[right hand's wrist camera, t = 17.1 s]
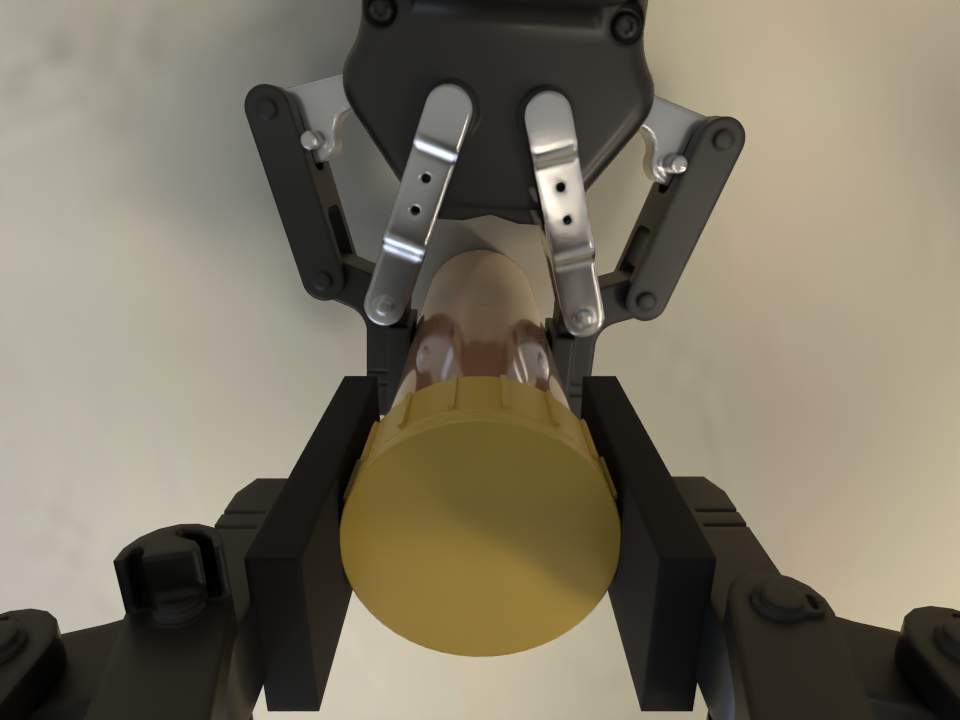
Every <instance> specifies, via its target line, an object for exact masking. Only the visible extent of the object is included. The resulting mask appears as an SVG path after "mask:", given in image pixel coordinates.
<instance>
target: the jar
mask: <svg viewBox="0 0 960 720" xmlns="http://www.w3.org/2000/svg"><path fill="white" fill-rule="evenodd" d="M501 374H502V375H506V376H507V379H510V380H514V381H519V382H522V383H525V384H527V385H530V386H533V387H535V388H537V389H539V390H541V391H543V392H546V391H547V390H549V391H551V392H552V394H553V397H554V398H555V399H556V400H558V401H559V402H561V403H562V404H563V405H565V406H566V407H567V408H568V409H569V410H570V411H571V409H570V406H569V403H568V400H567V397H566V394H565V391H564V387H563V384H562V381H561V378H560V375H559V372H558V369H557V366H556V363H555V360H554V357H553V354H552V351H551V348H550V345H549V342H548V339H547V335H546V332H545V329H544V326H543V323H542V320H541V317H540V314H539V311H538V308H537V305H536V302H535V299H534V296H533V293H532V290H531V286H530V283H529V281H528V279H527V277H526V275H525V274H524V272H523V271H522V270H521V268H520V267H519V266H518V265H517V264H516V263H515V262H514V261H512V260H511V259H509V258H508V257H506V256H504V255H502V254H500V253H497V252H493V251H489V250H472V251H467V252H464V253H460V254H458V255H456V256H454V257H453V258H451V259H449V260H448V261H447V262H446V263H444V264H443V265H442V266H441V268H440V269H439V270H438V271H437V273H436V274H435V276H434V278H433V280H432V282H431V285H430V288H429V291H428V294H427V297H426V300H425V303H424V306H423V309H422V312H421V315H420V318H419V321H418V324H417V328H416V331H415V334H414V337H413V340H412V343H411V346H410V349H409V352H408V355H407V358H406V361H405V364H404V368H403V371H402V374H401V377H400V380H399V383H398V386H397V389H396V392H395V395H394V398H393V401H392V404H391V407H390V410H391V409H392V408H393V407H395V406H396V405H397V404H399V403H400V402H401V401H403V400H404V399H405V396H406V393H408V392H410V391H411V392H412V393H413V394H414V393H415V392H417V391H419V390H421V389H423V388H426V387H428V386H430V385H433V384H435V383H439V382H442V381H446V380H450V379H451V376H453V375H457V378H462V377H469V376H489V377H499V378H500V376H501ZM389 412H390V411H389Z"/></svg>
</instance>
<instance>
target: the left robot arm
mask: <svg viewBox="0 0 960 720" xmlns="http://www.w3.org/2000/svg"><path fill="white" fill-rule="evenodd" d="M647 5H648V0H362V16H361V24H360V28H359V32H358V35H357V38H356V41H355V43H354V45H353V47H352V49H351V51H350V53H349V55H348V57H347V59H346V61H345V64H344V69H343V74H340V75H337V76H333V77H329V78H325V79H321V80H317V81H313V82H309V83H306V84H302V85H298V86H294V87H290V88H282V87H277V86H273V85H268V84H261V85H257V86H255V87H254V88H252V89H251V90H250V91H249V93H248V94H247V96H246V99H245V113H246V116H247V119H248V122H249V125H250V128H251V131H252V134H253V137H254V140H255V143H256V146H257V149H258V152H259V155H260V158H261V161H262V164H263V167H264V169H265V172H266V175H267V178H268V181H269V184H270V187H271V190H272V193H273V196H274V199H275V202H276V205H277V208H278V211H279V214H280V217H281V220H282V223H283V226H284V229H285V232H286V235H287V238H288V241H289V244H290V247H291V250H292V253H293V256H294V259H295V262H296V265H297V268H298V271H299V274H300V277H301V280H302V283H303V285H304V288H305V290H306V291H307V292H308V293H309V295H311V296H312V297H314V298H315V299H318V300H322V301H327V300H331V299H332V300H335V301H337V302H339V303H342V304H344V305H347V306H349V307H351V308H353V309H355V310H356V311H357V312H358V313H360V315H361V316H362V317H363V319H364V321H365V323H366V327H367V376H377V379H378V395H379V412H380V415H385V416H386V415H387V414H388V413H389V411H390V407H391V404H392V401H393V398H394V395H395V392H396V389H397V386H398V383H399V380H400V377H401V374H402V371H403V368H404V364H405V361H406V358H407V355H408V352H409V349H410V346H411V343H412V340H413V337H414V334H415V331H416V328H417V311H418V310H416V309H411V295H412V292H413V289H414V286H415V283H416V281H417V278H418V275H419V272H420V269H421V266H422V263H423V260H424V258H425V255H426V252H427V249H428V246H429V244H430V241H431V238H432V235H433V233H434V230H435V227H436V224H437V221H438V219H452V220H466V219H471V218H476V217H481V216H485V215H494V216H497V217H500V218H503V219H506V220H509V221H512V222H515V223H518V224H531V225H538V226H539V231H540V236H541V240H542V245H543V248H544V252H545V256H546V261H547V265H548V270H549V275H550V280H551V285H552V290H553V295H554V299H555V303H554V312H553V318H546V321H545V332H546V335H547V339H548V342H549V345H550V348H551V351H552V354H553V357H554V360H555V363H556V366H557V369H558V372H559V375H560V378H561V381H562V384H563V387H564V391H565V394H566V397H567V400H568V403H569V406H570V409H571V412H572V413H573V414H574V415H575V416H576V417H577V418H578V420H579V421H580V417H581V401H582V385H583V376H591V373H592V365H593V357H594V350H595V343H596V340H597V338H598V336H599V334H600V333H601V332H602V331H603V330H604V329H605V328H606V327H608V326H609V325H611V324H614V323H617V322H621V321H625V320H628V319H632V318H635V319H637V320H641V321H649V320H652V319H655V318H656V317H658V316H659V315H660V314H661V313H662V312H663V311H664V309H665V307H666V305H667V303H668V301H669V299H670V297H671V295H672V293H673V291H674V289H675V287H676V285H677V283H678V280H679V278H680V276H681V274H682V272H683V270H684V268H685V266H686V264H687V262H688V260H689V258H690V256H691V254H692V252H693V250H694V248H695V245H696V243H697V241H698V239H699V237H700V235H701V233H702V231H703V229H704V227H705V225H706V223H707V221H708V219H709V217H710V215H711V213H712V210H713V208H714V206H715V204H716V202H717V200H718V198H719V196H720V194H721V192H722V190H723V188H724V186H725V184H726V182H727V180H728V177H729V175H730V173H731V171H732V169H733V167H734V165H735V163H736V161H737V159H738V157H739V155H740V153H741V151H742V149H743V146H744V143H745V131H744V128H743V126H742V125H741V123H740V122H739V121H738V120H736V119H734V118H732V117H721V116H708V117H706V116H703V115H701V114H699V113H696V112H694V111H691V110H689V109H686V108H684V107H682V106H679V105H677V104H674V103H672V102H669V101H667V100H665V99H662V98H660V97H657V96H655V95H654V84H653V80H652V77H651V74H650V72H649V69H648V66H647V63H646V59H645V54H644V45H643V36H644V26H645V19H646V12H647ZM352 112H354V113H355V114H356V116H357V117H358V119H359V120H360V122H361V123H362V125H363V126H364V128H365V129H366V131H367V132H368V134H369V135H370V137H371V139H372V140H373V142H374V143H375V145H376V146H377V148H378V149H379V151H380V152H381V154H382V155H383V157H384V158H385V160H386V161H387V163H388V164H389V166H390V168H391V169H392V171H393V172H394V174H395V175H396V177H397V178H398V180H399V181H400V183H401V184H400V187H399V190H398V193H397V196H396V199H395V202H394V205H393V208H392V212H391V215H390V218H389V221H388V224H387V227H386V230H385V233H384V237H383V241H382V247H381V251H380V254H379V257H378V260H377V263H376V264H375V263H373V262H371V261H368V260H366V259H363V258H361V257H359V256H357V255H356V251H355V248H354V245H353V241H352V238H351V235H350V232H349V228H348V225H347V222H346V218H345V215H344V212H343V208H342V205H341V202H340V198H339V195H338V192H337V188H336V185H335V182H334V178H333V175H332V172H331V168H330V165H329V162H328V161H330V160H332V159H334V158H336V157H337V156H338V155H339V154H340V152H341V150H342V147H343V136H342V127H343V123H344V121H345V119H346V118H347V116H348V115H349V114H350V113H352ZM637 131H638V132H639V133H640V134H641V135H642V136H643V138H644V141H645V145H646V151H645V156H644V159H643V169H644V172H645V174H646V176H647V177H648V178H649V179H650V180H652V181H654V183H653V185H652V188H651V190H650V192H649V194H648V197H647V199H646V201H645V203H644V206H643V208H642V210H641V212H640V214H639V217H638V219H637V221H636V223H635V226H634V228H633V230H632V232H631V235H630V237H629V239H628V241H627V244H626V246H625V248H624V250H623V253H622V255H621V257H620V259H619V261H618V264H617V266H616V268H615V270H614V272H611V273H608V274H604V275H601V276H597V272H596V266H595V247H594V241H593V236H592V230H591V224H590V219H589V213H588V208H587V202H586V196H585V192H586V191H587V190H588V189H589V188H590V186H591V185H592V184H593V183H594V182H595V181H596V179H597V178H598V177H599V176H600V175H601V174H602V172H603V171H604V170H605V169H606V168H607V167H608V165H609V164H610V163H611V162H612V161H613V160H614V158H615V157H616V156H617V155H618V154H619V153H620V151H621V150H622V149H623V148H624V147H625V146H626V144H627V143H628V142H629V141H630V140H631V138H632V137H633V136H634V135H635V134H636V133H637Z"/></svg>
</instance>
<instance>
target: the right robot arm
mask: <svg viewBox="0 0 960 720" xmlns="http://www.w3.org/2000/svg"><path fill="white" fill-rule="evenodd" d="M582 419H584V420H585V422H586V424H587V426H588V429H589V432H590V435H591V437H592V440H593V443H594V445H595V448H596V450H597V452H598V455H599V457H603V458H604V460H605V463H606V466H607V468H608V471H609V474H610V476H611V479H612V481H613V484H614V487H615V489H616V492H617V500H615V502H616V504H617V508H618V512H619V516H620V520H621V540H620V551H619V561H618V567H617V570H616V572H615V575H614V578H613V580H612V583H611V584H610V586H609V588H608V593H609V597H610V600H611V604H612V607H613V611H614V615H615V618H616V622H617V625H618V629H619V633H620V636H621V640H622V643H623V647H624V651H625V654H626V658H627V661H628V665H629V669H630V672H631V676H632V679H633V683H634V687H635V690H636V694H637V697H638V701H639V705H640V708H641V711H693V705H694V699H695V693H696V686H697V682H698V685H699V687H700V690H701V693H702V695H703V698H704V700H705V703H706V705H707V708H708V714H707V720H960V611H958V610H954V609H950V608H942V607H934V606H927V607H921V608H915V609H913V610H912V611H911V612H910V613H908V614H907V615H906V616H905V617H904V621H903V624H902V627H901V631H900V632H898V631H894V630H889V629H885V628H880V627H876V626H871V625H867V624H862V623H858V622H854V621H850V620H847V619H843V618H840V617H837V616H835V613H834V611H833V610H832V609H831V607H830V606H829V604H828V603H827V601H826V600H825V598H823V597H822V596H821V595H820V594H818V593H817V592H816V591H815V590H813V589H812V588H811V587H810V586H808V585H806V584H803V583H801V582H799V581H797V580H795V579H793V578H791V577H788V576H784V575H781V574H780V572H779V571H778V569H777V568H776V566H775V565H774V564H773V562H772V561H771V559H770V558H769V556H768V555H767V553H766V552H765V550H764V549H763V547H762V546H761V544H760V543H759V541H758V540H757V539H756V537H755V536H754V534H753V533H752V531H751V530H750V528H749V527H746V522H745V521H744V519H743V518H742V516H741V515H740V514H739V512H736V508H735V506H734V505H733V503H732V502H731V500H730V499H729V497H728V496H727V494H726V493H725V491H723V490H722V489H720V488H719V487H717V486H716V485H715V484H713V483H712V482H710V481H709V480H708V479H706V478H705V477H671V475H670V473H669V471H668V470H667V468H666V466H665V464H664V462H663V461H662V459H661V457H660V455H659V453H658V452H657V450H656V448H655V446H654V444H653V443H652V441H651V439H650V437H649V435H648V434H647V432H646V430H645V428H644V426H643V425H642V423H641V421H640V419H639V417H638V416H637V414H636V412H635V410H634V408H633V407H632V405H631V403H630V401H629V399H628V398H627V396H626V394H625V392H624V390H623V389H622V387H621V385H620V383H619V381H618V380H617V378H616V376H583V385H582V401H581V417H580V420H582ZM375 421H377V422H379V423H380V412H379V395H378V379H377V376H345V377H344V378H343V380H342V382H341V384H340V386H339V387H338V389H337V391H336V393H335V395H334V396H333V398H332V400H331V402H330V404H329V405H328V407H327V409H326V411H325V413H324V414H323V416H322V418H321V420H320V422H319V423H318V425H317V427H316V429H315V431H314V432H313V434H312V436H311V438H310V440H309V441H308V443H307V445H306V447H305V449H304V451H303V452H302V454H301V456H300V458H299V460H298V461H297V463H296V465H295V467H294V469H293V470H292V472H291V474H290V476H289V478H288V479H256V480H254V481H253V482H252V483H250V484H249V485H247V486H246V487H245V488H243V489H242V490H240V491H239V492H238V493H236V494H235V496H234V497H233V499H232V500H231V502H230V503H229V505H228V506H227V508H226V509H225V511H224V514H222V515H221V517H220V518H219V520H218V521H217V523H216V524H215V528H213V527H209V526H205V525H201V524H179V525H174V526H170V527H165V528H161V529H158V530H156V531H153V532H151V533H149V534H146V535H144V536H142V537H139V538H138V539H136V540H135V541H134V542H132V543H131V544H129V545H128V546H126V547H125V548H124V549H123V550H122V551H121V552H120V553H119V555H118V556H117V557H116V559H115V560H114V561H113V562H114V566H115V570H116V574H117V579H118V583H119V587H120V591H121V595H122V599H123V603H124V607H125V611H126V614H125V617H124V619H122V620H119V621H116V622H112V623H109V624H105V625H101V626H96V627H92V628H87V629H83V630H78V631H74V632H69V633H65V634H61V633H60V629H59V626H58V622H57V619H56V618H55V617H53V616H52V615H51V614H50V613H49V612H48V611H43V610H36V609H24V610H16V611H9V612H6V613H3V614H0V720H253V714H252V712H253V709H254V707H255V704H256V702H257V699H258V697H259V694H260V692H261V689H262V686H263V684H264V690H265V697H266V703H267V709H268V711H319V709H320V706H321V702H322V699H323V695H324V691H325V688H326V684H327V681H328V677H329V673H330V670H331V666H332V663H333V659H334V655H335V652H336V648H337V645H338V641H339V637H340V634H341V630H342V627H343V623H344V619H345V616H346V612H347V609H348V605H349V602H350V598H351V594H352V591H353V589H352V587H351V585H350V583H349V581H348V579H347V576H346V574H345V571H344V568H343V564H342V557H341V547H340V535H339V524H340V519H341V514H342V509H343V507H344V504H345V503H344V501H343V496H344V494H345V491H346V488H347V486H348V483H349V480H350V478H351V475H352V472H353V470H354V467H355V464H356V462H357V459H360V458H361V456H362V453H363V450H364V447H365V445H366V442H367V439H368V437H369V434H370V431H371V428H372V426H373V424H374V422H375Z"/></svg>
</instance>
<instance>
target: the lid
mask: <svg viewBox="0 0 960 720" xmlns="http://www.w3.org/2000/svg"><path fill="white" fill-rule="evenodd" d="M615 500H617V492H616V489H615V487H614V484H613V481H612V479H611V476H610V474H609V471H608V468H607V466H606V463H605V460H604V458H603V457H599V455H598V452H597V450H596V448H595V445H594V443H593V440H592V437H591V435H590V432H589V429H588V426H587V424H586V422H585V420H584V419H582V420H580V421H579V420H578V418H577V417H576V416H575V415H574V414H573V413H572V412H571V411H570V410H569V409H568V408H567V407H566V406H565V405H563V404H562V403H561V402H559V401H558V400H556V399H555V398H554V397H553V394H552V392H551V391H549V390H547V391H546V392H543V391H541V390H539V389H537V388H535V387H533V386H530V385H527V384H525V383H522V382H519V381H514V380H510V379H507V376H506V375H502V374H501V376H500V378H499V377H489V376H469V377H462V378H457V375H453V376H451V379H450V380H446V381H442V382H439V383H435V384H433V385H430V386H428V387H426V388H423V389H421V390H419V391H417V392H415V393H414V394H413V393H412V392H411V391H410V392H408V393H406V396H405V399H404V400H403V401H401V402H400V403H399V404H397V405H396V406H395V407H393V408H392V409H391V410H390V412H389V413H388V414H387V415H386V416H385V417H384V418H383V419H382V420H381V421H380V423H379V422H377V421H375V422H374V424H373V426H372V428H371V431H370V434H369V437H368V439H367V442H366V445H365V447H364V450H363V453H362V456H361V458H360V459H357V462H356V464H355V467H354V470H353V472H352V475H351V478H350V480H349V483H348V486H347V488H346V491H345V494H344V496H343V501H344V503H345V504H344V507H343V509H342V514H341V519H340V524H339V535H340V547H341V557H342V564H343V568H344V571H345V574H346V576H347V579H348V581H349V583H350V585H351V587H352V589H353V590H354V592H355V594H356V595H357V597H358V598H359V600H360V601H361V602H362V604H363V605H364V606H365V607H366V608H367V610H368V611H369V612H370V613H371V614H372V615H373V616H374V617H375V618H376V619H378V620H379V621H380V622H381V623H382V624H383V625H385V626H386V627H388V628H389V629H390V630H392V631H393V632H394V633H396V634H398V635H400V636H402V637H403V638H405V639H407V640H409V641H411V642H413V643H416V644H418V645H420V646H423V647H425V648H429V649H432V650H435V651H439V652H443V653H448V654H453V655H460V656H472V657H488V656H500V655H508V654H513V653H517V652H522V651H526V650H529V649H532V648H535V647H538V646H541V645H543V644H545V643H547V642H549V641H552V640H554V639H556V638H558V637H559V636H561V635H563V634H564V633H566V632H567V631H569V630H571V629H572V628H573V627H574V626H576V625H577V624H578V623H580V622H581V621H582V620H583V619H584V618H585V617H586V616H587V615H588V614H589V613H590V612H591V611H592V610H593V609H594V608H595V607H596V606H597V604H598V603H599V602H600V600H601V599H602V598H603V596H604V595H605V593H606V591H607V590H608V588H609V586H610V584H611V583H612V580H613V578H614V575H615V572H616V570H617V567H618V561H619V551H620V540H621V520H620V516H619V512H618V508H617V504H616V502H615Z"/></svg>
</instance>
